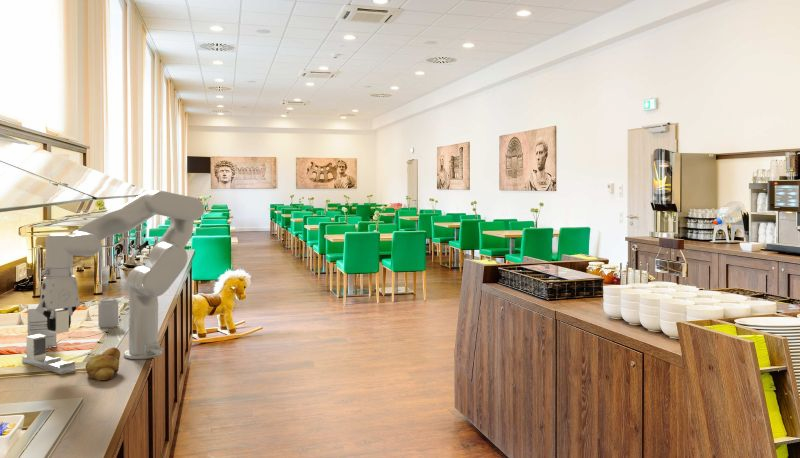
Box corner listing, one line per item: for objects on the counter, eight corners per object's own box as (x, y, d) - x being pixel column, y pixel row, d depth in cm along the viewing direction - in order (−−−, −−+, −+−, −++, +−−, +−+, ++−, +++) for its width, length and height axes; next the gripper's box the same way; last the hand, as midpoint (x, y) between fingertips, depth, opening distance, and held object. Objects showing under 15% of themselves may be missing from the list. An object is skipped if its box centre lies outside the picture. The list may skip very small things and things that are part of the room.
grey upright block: (94, 327, 242) (94, 299, 242) (109, 324, 249) (109, 296, 249) (107, 330, 240) (107, 301, 239) (122, 326, 247) (122, 298, 246)
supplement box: (28, 344, 216) (27, 304, 215) (56, 341, 220) (56, 302, 219) (27, 350, 208) (26, 309, 207) (56, 347, 212) (56, 307, 211)
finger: (68, 331, 188) (68, 310, 188) (56, 333, 185) (56, 312, 184) (60, 329, 190) (60, 308, 190) (47, 331, 187) (48, 310, 186)
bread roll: (117, 381, 180) (117, 356, 179) (81, 384, 176) (81, 358, 176) (121, 369, 192) (121, 345, 191) (87, 371, 188) (87, 347, 188)
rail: (75, 370, 188) (75, 343, 187) (61, 374, 184) (61, 346, 184) (36, 358, 199) (36, 332, 198) (22, 362, 195) (22, 335, 194)
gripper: (39, 276, 177) (39, 335, 178) (91, 271, 191) (91, 326, 193) (25, 273, 181) (25, 332, 182) (77, 268, 195) (77, 322, 196)
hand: (59, 328), depth 187 cm, fingers closed on finger, 4 cm apart
